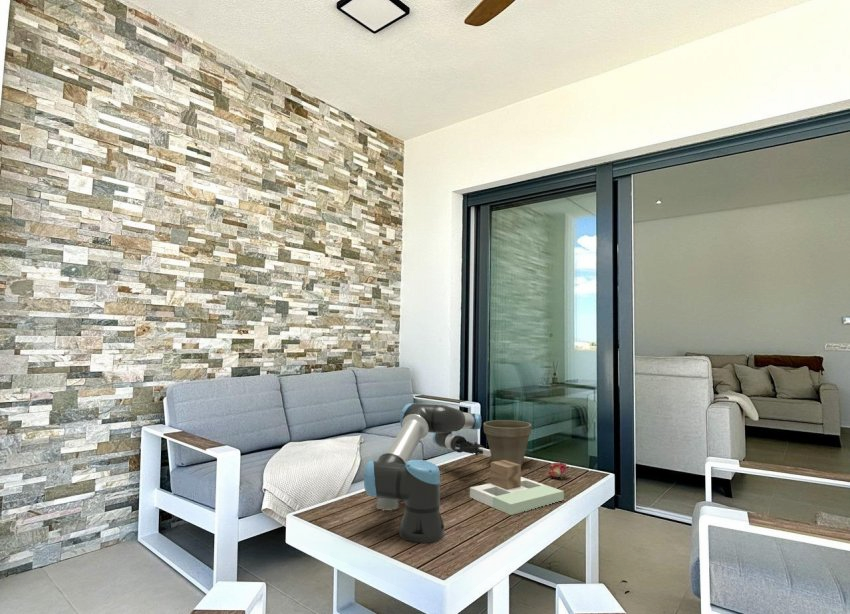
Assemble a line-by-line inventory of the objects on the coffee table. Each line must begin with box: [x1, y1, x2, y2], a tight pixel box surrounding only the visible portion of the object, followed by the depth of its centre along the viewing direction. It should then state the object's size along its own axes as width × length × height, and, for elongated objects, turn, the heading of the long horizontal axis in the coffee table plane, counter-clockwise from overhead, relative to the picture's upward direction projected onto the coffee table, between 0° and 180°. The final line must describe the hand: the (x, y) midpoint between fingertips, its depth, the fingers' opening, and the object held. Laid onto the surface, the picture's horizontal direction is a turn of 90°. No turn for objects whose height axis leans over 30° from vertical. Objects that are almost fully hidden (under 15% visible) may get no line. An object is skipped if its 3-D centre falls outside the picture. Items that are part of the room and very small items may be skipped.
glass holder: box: [376, 498, 399, 509], centre depth 190 cm, size 9×14×15 cm, turn 104°
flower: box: [547, 461, 568, 480], centre depth 231 cm, size 10×9×8 cm
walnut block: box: [489, 460, 522, 490], centre depth 206 cm, size 8×10×9 cm
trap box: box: [469, 476, 565, 516], centre depth 200 cm, size 30×24×4 cm
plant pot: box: [483, 419, 532, 467], centre depth 254 cm, size 25×25×22 cm
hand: (489, 453), depth 215 cm, fingers closed
